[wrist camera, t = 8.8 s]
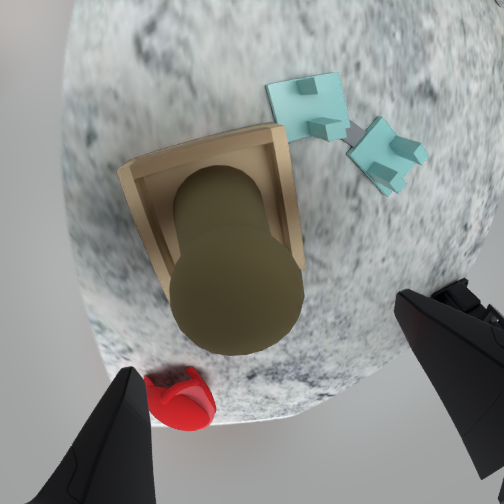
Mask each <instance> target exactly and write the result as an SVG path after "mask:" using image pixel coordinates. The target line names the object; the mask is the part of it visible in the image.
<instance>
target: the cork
mask: <svg viewBox="0 0 504 504" xmlns="http://www.w3.org/2000/svg"><path fill="white" fill-rule="evenodd" d="M173 216H174V222H175V228H176V233H177V239H178V244H179V249H180V255H181V256H180V258H179V259H178V261H177V262H176V265H175V268H174V271H173V274H172V277H171V280H170V287H169V294H170V307H171V310H172V313H173V316H174V318H175V320H176V322H177V324H178V326H179V328H180V330H181V331H182V332H183V333H184V334H185V335H186V336H187V337H188V338H189V339H191V340H192V341H193V342H194V343H195V344H196V345H197V346H199V347H201V348H203V349H205V350H207V351H209V352H212V353H216V354H221V355H227V356H235V355H247V354H251V353H255V352H259V351H262V350H264V349H266V348H268V347H270V346H272V345H274V344H276V343H277V342H279V341H280V340H281V339H282V338H283V337H284V336H285V335H287V334H288V333H289V332H290V330H291V329H292V327H293V326H294V324H295V323H296V321H297V320H298V317H299V315H300V312H301V308H302V304H303V300H304V288H303V281H302V274H301V270H300V268H299V266H298V265H297V263H296V261H295V260H294V258H293V256H292V255H291V253H290V251H289V250H288V248H287V247H285V246H284V245H283V244H281V243H280V242H279V241H278V240H276V239H275V238H274V237H273V236H271V233H270V228H269V224H268V220H267V216H266V212H265V208H264V204H263V200H262V196H261V192H260V190H259V188H258V186H257V185H256V183H255V181H254V180H253V179H252V178H251V177H250V176H248V175H247V174H246V173H245V172H243V171H242V170H239V169H237V168H234V167H231V166H227V165H212V166H208V167H205V168H201V169H199V170H197V171H196V172H194V173H193V174H191V175H190V176H188V177H187V178H186V179H185V180H184V182H183V183H182V184H181V185H180V187H179V188H178V190H177V193H176V196H175V199H174V201H173Z"/></svg>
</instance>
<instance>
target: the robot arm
mask: <svg viewBox="0 0 504 504" xmlns="http://www.w3.org/2000/svg"><path fill="white" fill-rule="evenodd" d="M467 285H468V280H467V279H466V278H465V279H463V280H461V281H459V282H457V283H455V284H453V285H451V286H449V287H447V288H445V289H442V290H440V291H438V292H436V293H434V294H433V295H432V297H431V298H429V297H426V296H424V295H422V294H419V293H417V292H415V291H412V290H410V289H404V290H402V291H399V292H398V293H397V294H396V300H395V307H394V313H395V316H396V318H397V320H398V322H399V324H400V326H401V329H402V331H403V333H404V335H405V337H406V339H407V341H408V343H409V345H410V347H411V349H412V351H413V352H414V354H415V356H416V357H417V359H418V361H419V362H420V364H421V366H422V367H423V369H424V371H425V373H426V374H427V376H428V378H429V379H430V381H431V383H432V385H433V386H434V388H435V390H436V391H437V393H438V395H439V397H440V399H441V400H442V402H443V404H444V406H445V408H446V410H447V411H448V413H449V415H450V417H451V419H452V421H453V423H454V424H455V427H456V428H457V430H458V432H459V434H460V436H461V438H462V440H463V443H464V445H465V447H466V449H467V451H468V453H469V455H470V457H471V459H472V461H473V464H474V466H475V468H476V470H477V472H478V474H479V477H480V479H481V480H483V479H484V478H486V477H488V476H489V475H491V474H493V473H494V472H496V471H497V470H499V469H500V468H502V467H503V466H504V316H503V315H502V314H501V313H500V312H499V311H498V310H497V309H495V308H494V307H493V306H492V305H490V304H489V305H488V307H487V309H486V308H485V307H484V306H483V305H482V304H481V301H480V300H479V299H478V298H477V297H476V296H475V295H474V294H473V293H472V292H471V291H470V290H469V289H468V288H467ZM497 319H498V320H499V321H498V322H497ZM498 500H499V502H500V504H504V479H503V482H502V486H501V489H500V493H499V496H498ZM26 504H156V498H155V487H154V475H153V461H152V443H151V423H150V415H149V407H148V399H147V390H146V384H145V381H144V380H143V378H142V377H141V376H140V374H139V373H138V372H137V371H136V369H135V368H134V367H132V366H130V367H124V368H121V369H120V371H119V372H118V374H117V375H116V377H115V378H114V380H113V381H112V383H111V384H110V386H109V387H108V389H107V390H106V392H105V394H104V395H103V396H102V398H101V399H100V401H99V403H98V404H97V406H96V407H95V409H94V410H93V412H92V413H91V415H90V416H89V418H88V420H87V421H86V423H85V424H84V426H83V428H82V429H81V431H80V432H79V434H78V436H77V437H76V439H75V441H74V442H73V444H72V446H71V447H70V448H69V450H68V452H67V453H66V455H65V456H64V458H63V459H62V461H61V463H60V464H59V466H58V467H57V468H56V470H55V471H54V473H53V474H52V475H51V477H50V478H49V479H48V481H47V482H46V483H45V485H44V486H43V488H42V489H41V490H40V492H39V493H38V494H37V496H36V497H35V498H34V499H32V500H31V501H30V502H28V503H26Z"/></svg>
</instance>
